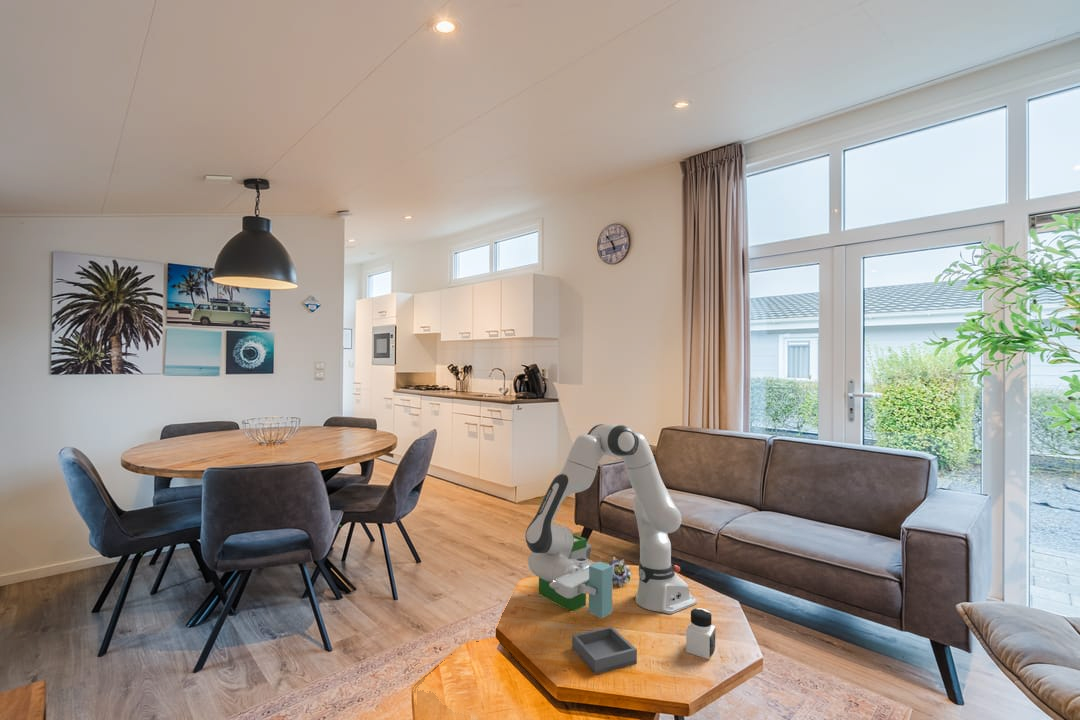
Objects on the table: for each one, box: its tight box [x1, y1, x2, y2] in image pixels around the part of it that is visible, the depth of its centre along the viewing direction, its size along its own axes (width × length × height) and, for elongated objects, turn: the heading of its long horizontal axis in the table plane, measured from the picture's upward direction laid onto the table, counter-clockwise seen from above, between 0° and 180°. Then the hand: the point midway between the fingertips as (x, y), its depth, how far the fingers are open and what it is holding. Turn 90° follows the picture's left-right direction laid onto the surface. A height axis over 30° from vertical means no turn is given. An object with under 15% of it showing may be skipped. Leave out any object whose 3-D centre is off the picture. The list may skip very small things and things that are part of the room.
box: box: [571, 626, 638, 675], centre depth 147 cm, size 14×14×4 cm
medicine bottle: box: [685, 607, 716, 660], centre depth 150 cm, size 7×7×12 cm
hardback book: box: [538, 533, 587, 612], centre depth 183 cm, size 18×7×24 cm, turn 41°
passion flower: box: [604, 555, 633, 588], centre depth 198 cm, size 11×11×12 cm
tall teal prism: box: [588, 560, 613, 619], centre depth 148 cm, size 5×5×14 cm
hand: (603, 588), depth 148 cm, fingers closed on tall teal prism, 5 cm apart
